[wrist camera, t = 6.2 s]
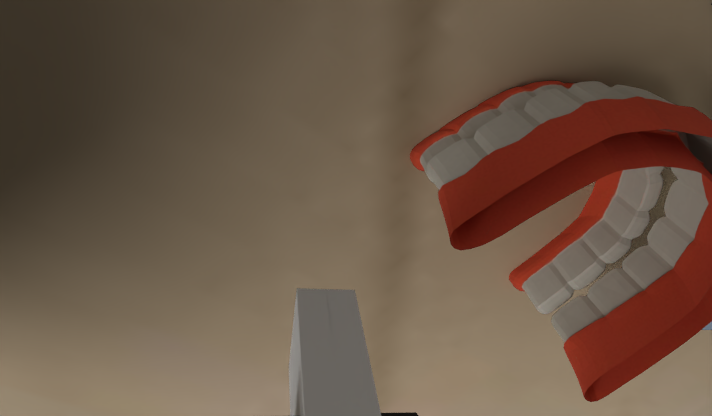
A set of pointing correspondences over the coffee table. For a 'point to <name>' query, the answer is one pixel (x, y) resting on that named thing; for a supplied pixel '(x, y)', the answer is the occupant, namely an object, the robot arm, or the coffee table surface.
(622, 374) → the toy
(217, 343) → the coffee table surface
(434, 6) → the coffee table surface
